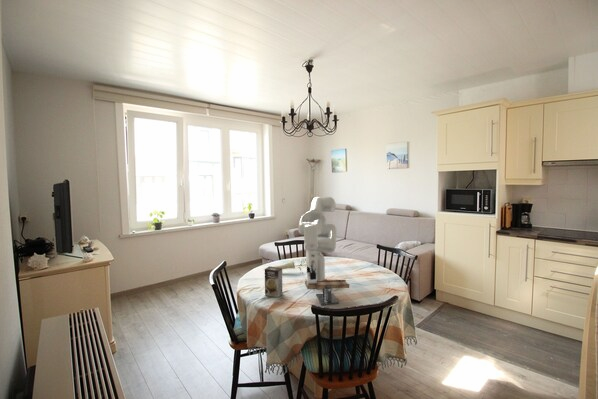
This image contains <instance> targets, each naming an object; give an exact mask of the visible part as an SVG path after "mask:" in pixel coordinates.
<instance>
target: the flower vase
mask: <svg viewBox="0 0 598 399" xmlns="http://www.w3.org/2000/svg"><path fill="white" fill-rule="evenodd" d="M304 266H305V267H306V266H307V263H306V258H303V261H300V263H299V265H296V264H295V262H294V260H291V261H289V262H286V263H284V264H279V265H273V266H270V267H278V268H282V271H283V270H287V269H296V267H297V268H298V269H299V270H300V271H301V272H302V274H304V272H303V271H302V268H301V267H304Z"/></svg>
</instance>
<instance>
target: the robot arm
mask: <svg viewBox="0 0 598 399" xmlns="http://www.w3.org/2000/svg"><path fill="white" fill-rule="evenodd" d="M336 206H337V203H336V201H335V199H334V198H333V197H331V196H316V197H313V199H312V201H311V202H310V208H309V211H306V212H305V213H304V214H303V215H301V216H300V217H301V218H300V219H299V222H298V233H299V234H300V235H302V236H303V240H304V241H303V242H304V244H303V246H304V250H305V259H306V261H305V264H306V273H307V272H310V279H311V280H313V279H316V274H317V280H323V279H325V277H326V275H325V274H326V271H325V270H326V269H325V267H326V266H325V265H326V263H325V262H326V260H325V259H326V258H325V256H324V255H323V253H333V252H335V251H336V247H337V227H336V225H335V224H333V223H327V218H326V217H325V216H324V213H333V212H335V211H336ZM304 278H305V281H307V275H305V277H304Z"/></svg>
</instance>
